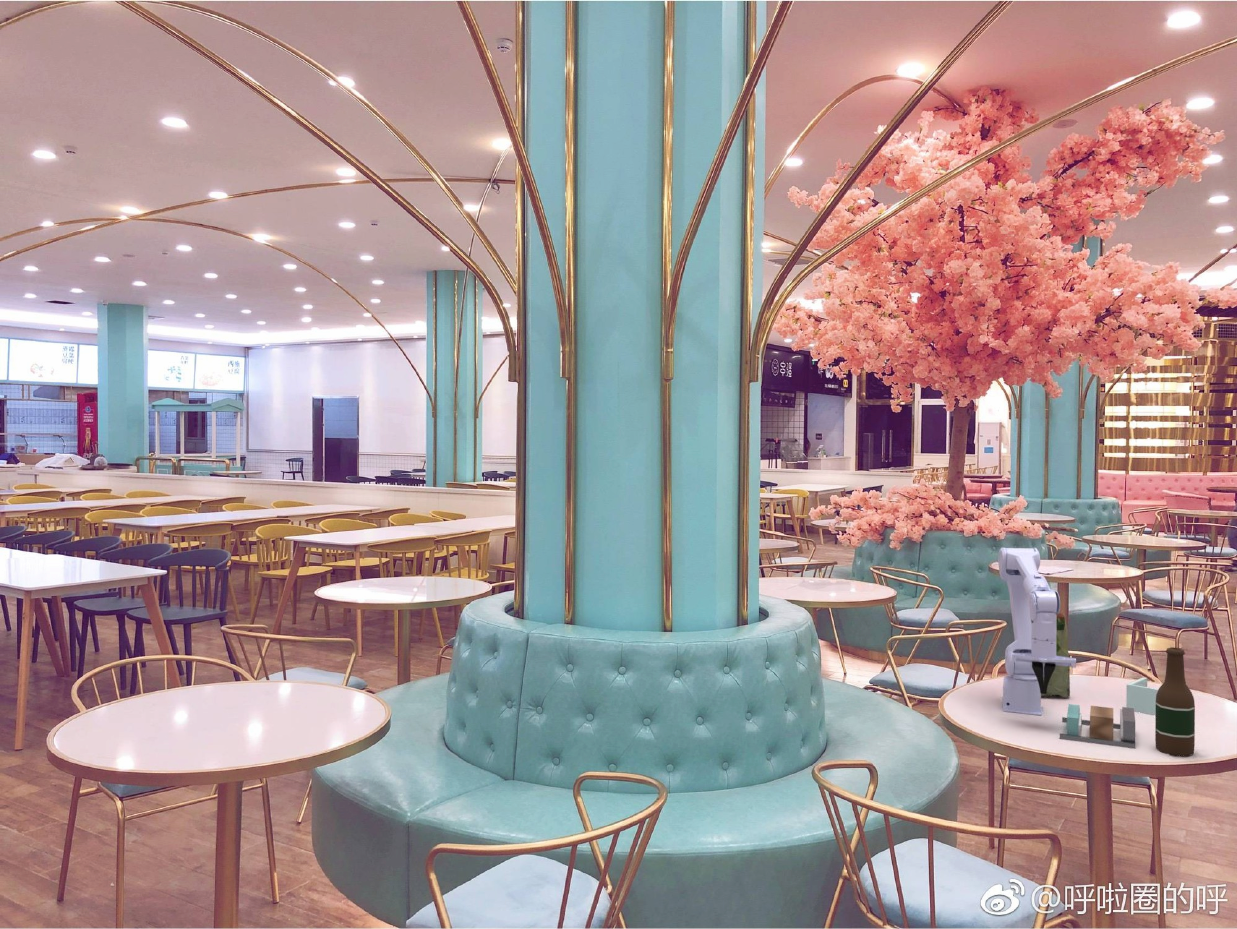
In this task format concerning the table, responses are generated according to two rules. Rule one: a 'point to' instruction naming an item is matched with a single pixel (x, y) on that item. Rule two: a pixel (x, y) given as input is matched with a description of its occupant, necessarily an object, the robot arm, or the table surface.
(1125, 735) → the vise
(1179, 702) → the beer bottle
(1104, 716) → the walnut block
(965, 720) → the table surface
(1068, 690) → the pouch
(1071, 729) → the block
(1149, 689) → the l-shaped corner panel
